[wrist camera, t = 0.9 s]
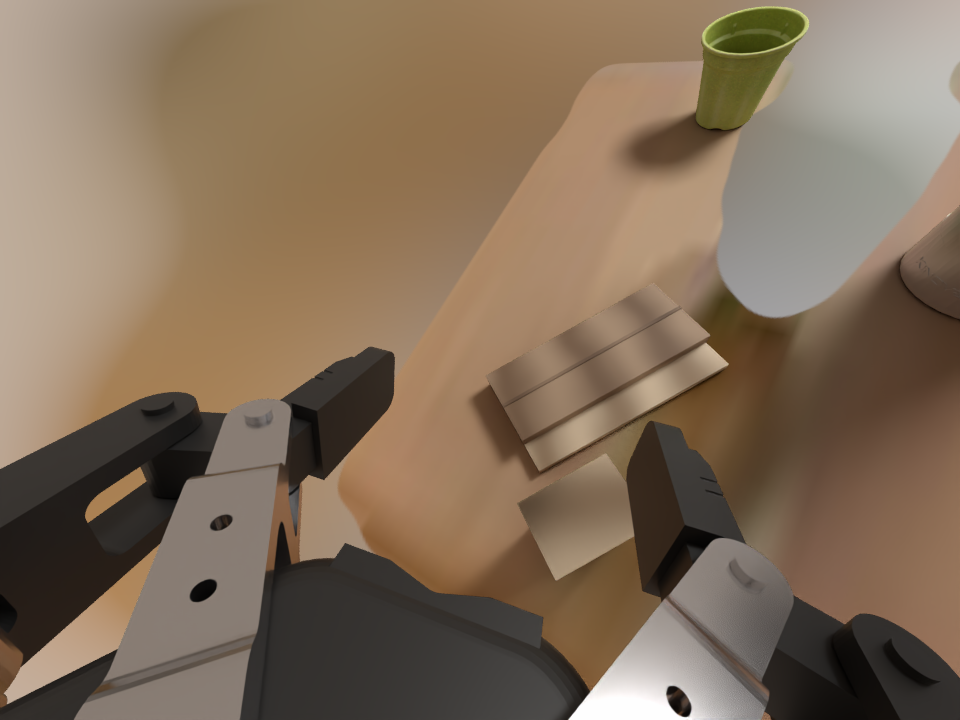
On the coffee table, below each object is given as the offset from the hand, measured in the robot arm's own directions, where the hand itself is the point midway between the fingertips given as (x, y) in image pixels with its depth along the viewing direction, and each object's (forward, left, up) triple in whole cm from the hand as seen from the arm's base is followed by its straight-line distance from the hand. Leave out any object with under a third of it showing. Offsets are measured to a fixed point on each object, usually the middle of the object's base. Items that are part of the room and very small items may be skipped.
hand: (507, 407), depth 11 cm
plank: (-2, +3, -20) cm, 20 cm away
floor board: (-7, -9, -20) cm, 23 cm away
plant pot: (-34, -38, -20) cm, 55 cm away
